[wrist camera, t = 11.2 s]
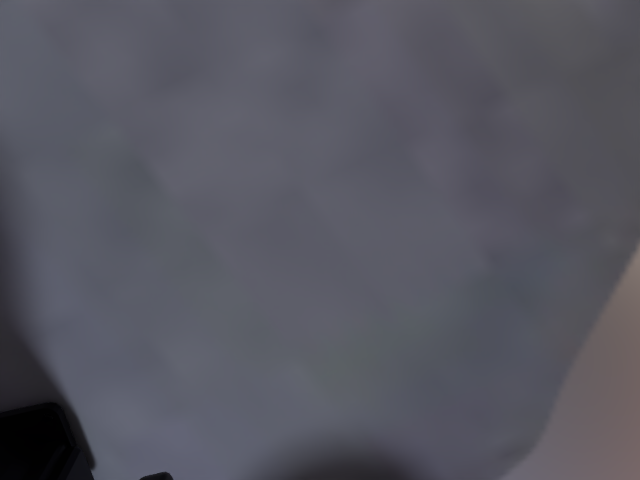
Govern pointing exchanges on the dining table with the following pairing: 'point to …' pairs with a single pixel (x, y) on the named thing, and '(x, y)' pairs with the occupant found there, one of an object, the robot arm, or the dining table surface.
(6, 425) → the robot arm
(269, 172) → the dining table surface
